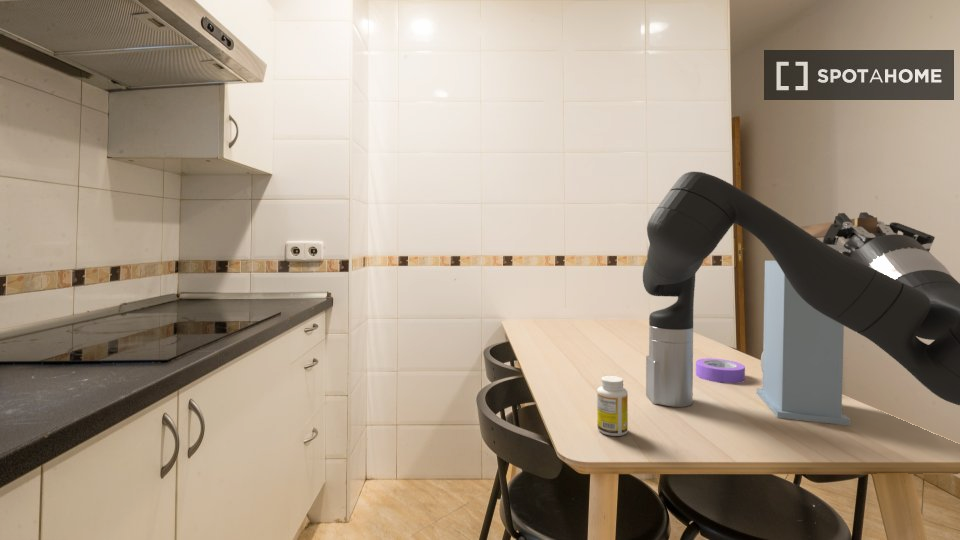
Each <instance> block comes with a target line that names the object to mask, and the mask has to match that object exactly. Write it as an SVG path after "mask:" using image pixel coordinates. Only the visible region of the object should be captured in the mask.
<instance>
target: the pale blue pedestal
mask: <svg viewBox="0 0 960 540" xmlns="http://www.w3.org/2000/svg"><path fill="white" fill-rule="evenodd" d="M763 292H764V295H763V300H764V301H763V344H762V346H763V351H762V352H763V372H762V388H756V395H757V396H759V398H760V399H761V400H762V402H764V404H765V405H766V406H767V407H768V409H769V410H770V411H771V412H772V413H773V414H774V415H775V417H776V418H777V419H785V420H793V421H794V420H795V421H796V420H797V421H805V422H813V423H821V424H822V423H823V424H825V423H826V424H832V425H833V424H834V425H842V426H843V425H844V426H851V419H850V418H849V417H848V416H846V415H845V414H844V413H843V411H842V409H843V408H842V407H843V406H842V405H843V404H842V403H843V402H842V401H843V376H844V375H843V372H844V371H843V368H844V365H843V364H844V335H845V334H844V332H845V331H844V329H845V326H844V325H842V324H840V323H838V322H837V321H835V320H833V319H831V318H829V317H827V316H826V315H824V314H822V313H820V312H819V311H817V310H816V309H814V308H813V307H812V306H810V305H809V304H808V303H807V302H806V301H804V300H803V299H802V298H801V297H800V295H799V294H798V293H797V292H796V291H795V289H794V288H793V287H792V285H791V284H790V282H789V281H788V279H787V278H786V276H785V274H784V273H783V271H782V269H781V268H780V266H779V265H778V263H777V261H776V260H764V291H763Z"/></svg>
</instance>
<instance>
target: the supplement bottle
mask: <svg viewBox="0 0 960 540" xmlns="http://www.w3.org/2000/svg"><path fill="white" fill-rule="evenodd" d="M600 384H601V385H600V386H599V387H597V391H596V392H597V393H596V397H597V398H596V401H597V402H596V403H597V405H596V406H597V407H596V408H597V409H596V410H597V420H596V421H597V422H596V423H597V430H598V431H599V432H600V433H601V434H604V435H607V436H609V437H610V436H611V437H621V436H625V435H626V434H627V433H628V431H629V429H628V424H629V423H628V419H629V418H628V410H629V409H628V408H629V407H628V401H629V400H628V399H629V398H628V390H627V389H626V388H624V380H623V377H619V376H615V375H605V376H602V377H601V383H600Z"/></svg>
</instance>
